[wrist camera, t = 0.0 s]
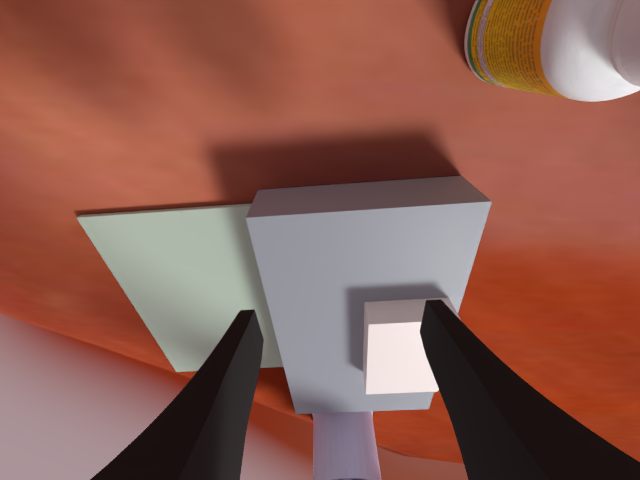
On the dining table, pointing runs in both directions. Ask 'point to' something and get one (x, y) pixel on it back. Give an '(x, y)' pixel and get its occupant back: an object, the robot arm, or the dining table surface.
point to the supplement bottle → (557, 46)
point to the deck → (357, 273)
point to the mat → (186, 275)
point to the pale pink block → (396, 347)
